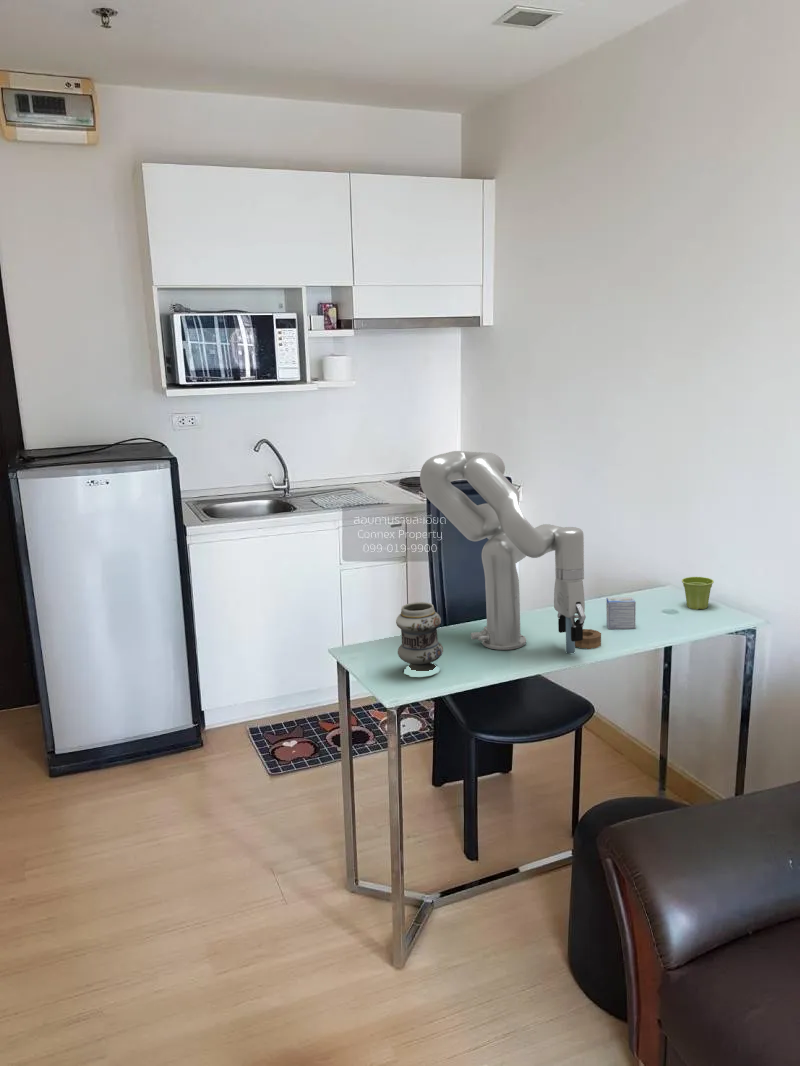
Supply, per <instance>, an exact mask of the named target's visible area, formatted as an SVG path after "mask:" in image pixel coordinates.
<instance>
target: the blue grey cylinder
mask: <svg viewBox="0 0 800 1066" xmlns="http://www.w3.org/2000/svg"><path fill="white" fill-rule="evenodd" d="M574 615H576V614H574ZM574 615H573V616H574ZM574 619H575V620H576V618H574ZM571 627H572V622H571V618H567V617H566V632H565V653H566V652H567V653H574V652H575V653H576V647H575V641H574V642H573V641H571ZM567 653H566V654H567ZM575 653H574V654H575Z"/></svg>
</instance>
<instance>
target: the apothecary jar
mask: <svg viewBox="0 0 800 1066" xmlns="http://www.w3.org/2000/svg"><path fill="white" fill-rule="evenodd" d="M400 610H401V611H400V614H398V615H397V617H396V619H395V625H396V626H397V627H398V628H399V629H400V631H401V644H400V645H398V646H399V647H398V648H397V655H398V657H399V659H400V660H401V661H403V662H404V663H407V664H409V667H410V668H411V670H416V671H429V670H433V669H434V668H435V667H436V666H435V665H434V664H435V663H433V662H435V661H438V659H439V658H441V656H443V653H444V647H443V645H442V643H441V642H440V641H439V637H438V631H437V629H438V627H439V626H440V625H441V623H442V622H441V621H442V616H441V615H440V613H438V612H437V611H436V610H435V607H434V604H432V603H430V602H426V601H425V602H424V601H419V602H418V601H417V602H410V603H406V604H404V605H402V606H401V609H400ZM432 663H433V664H432Z"/></svg>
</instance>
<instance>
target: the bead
mask: <svg viewBox="0 0 800 1066" xmlns="http://www.w3.org/2000/svg"><path fill="white" fill-rule="evenodd" d="M575 646H576V647H575V648H577V647H580V648H579V649H581V648H587V649H586V650H592V649H591V648H593V649H597V648H599V647H601V646H602V632H600V631H599V630H595V629H591V628H590V629H587V628H583V640H581V641H575Z"/></svg>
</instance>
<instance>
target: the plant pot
mask: <svg viewBox="0 0 800 1066" xmlns="http://www.w3.org/2000/svg"><path fill="white" fill-rule="evenodd" d="M681 583H682V585H683V587H684V593H685V599H686V601H685V602H686V606H687V608H689V609H690V608H691V610H705V609H707V608H709V607H708V605H709V602H710V595H711V590H712V589H711V588H712V587H713V584H714V579H712V578H709V577H702V576H689V577H684V578H683V579H681Z"/></svg>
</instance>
